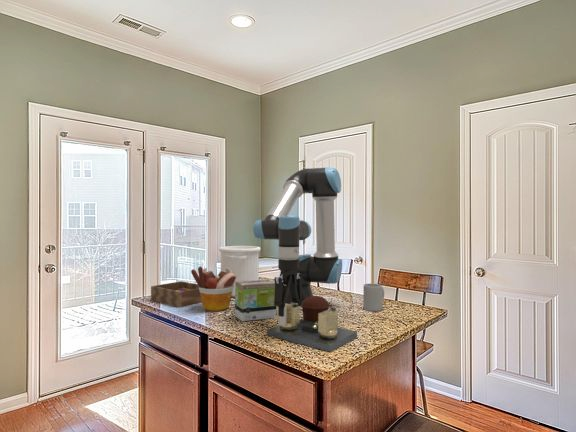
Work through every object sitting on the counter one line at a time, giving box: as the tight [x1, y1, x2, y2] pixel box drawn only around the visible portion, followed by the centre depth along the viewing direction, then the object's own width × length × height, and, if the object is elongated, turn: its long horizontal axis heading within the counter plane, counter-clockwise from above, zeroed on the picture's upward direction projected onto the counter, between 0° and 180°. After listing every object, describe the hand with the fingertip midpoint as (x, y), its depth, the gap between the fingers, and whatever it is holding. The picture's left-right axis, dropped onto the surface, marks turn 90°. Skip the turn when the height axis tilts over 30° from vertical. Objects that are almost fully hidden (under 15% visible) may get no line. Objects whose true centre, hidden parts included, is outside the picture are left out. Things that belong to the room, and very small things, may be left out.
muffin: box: [300, 295, 330, 322], centre depth 149 cm, size 12×11×10 cm
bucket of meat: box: [190, 266, 236, 312], centre depth 169 cm, size 20×16×20 cm
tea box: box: [234, 279, 277, 322], centre depth 155 cm, size 15×10×15 cm
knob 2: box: [318, 307, 339, 339], centre depth 124 cm, size 8×6×9 cm
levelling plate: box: [266, 318, 358, 353], centre depth 131 cm, size 26×18×4 cm
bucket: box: [218, 245, 262, 298], centre depth 201 cm, size 26×22×25 cm
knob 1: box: [276, 303, 301, 330], centre depth 133 cm, size 8×6×9 cm
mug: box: [362, 283, 385, 312], centre depth 171 cm, size 12×8×11 cm
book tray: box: [150, 280, 202, 309], centre depth 184 cm, size 23×18×7 cm
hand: (288, 322), depth 133 cm, fingers closed on knob 1, 6 cm apart
